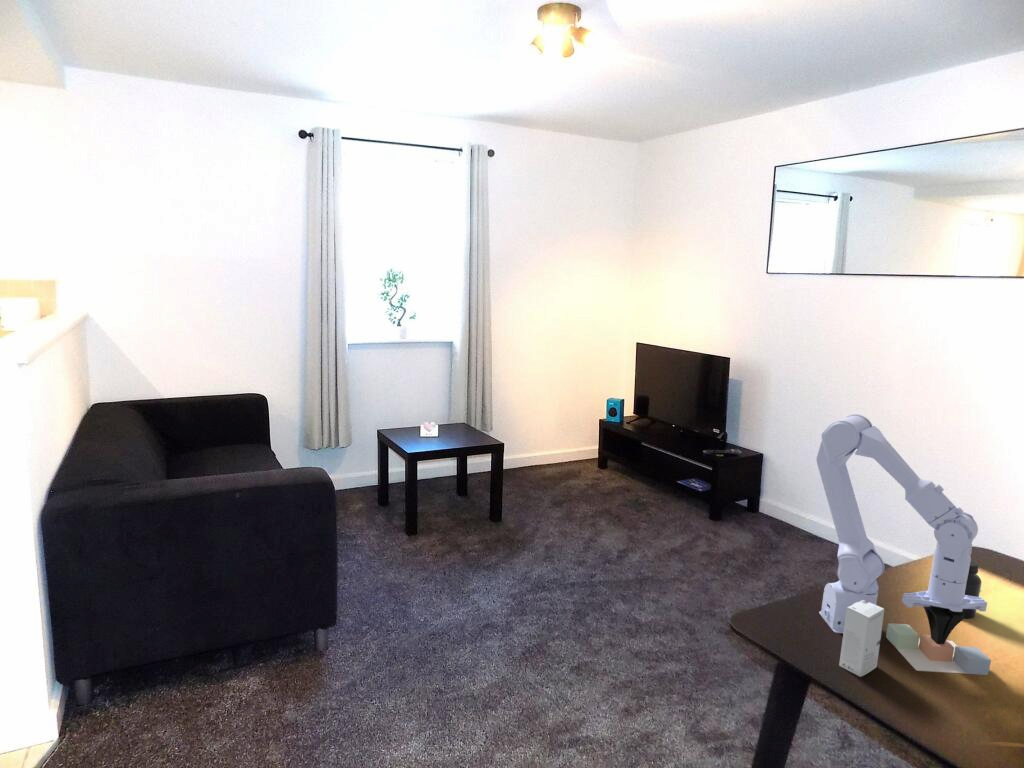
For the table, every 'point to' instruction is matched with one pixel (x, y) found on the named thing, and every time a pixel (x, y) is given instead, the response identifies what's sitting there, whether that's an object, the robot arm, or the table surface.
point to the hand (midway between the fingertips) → (937, 641)
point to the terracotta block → (936, 649)
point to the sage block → (902, 636)
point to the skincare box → (861, 637)
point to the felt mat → (929, 661)
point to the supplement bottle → (972, 588)
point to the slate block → (971, 660)
